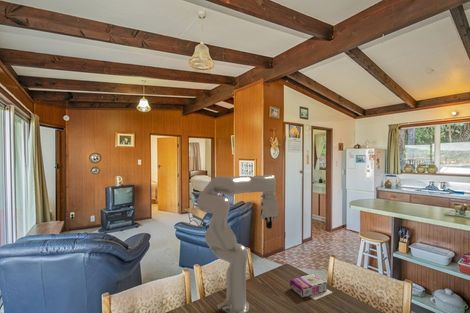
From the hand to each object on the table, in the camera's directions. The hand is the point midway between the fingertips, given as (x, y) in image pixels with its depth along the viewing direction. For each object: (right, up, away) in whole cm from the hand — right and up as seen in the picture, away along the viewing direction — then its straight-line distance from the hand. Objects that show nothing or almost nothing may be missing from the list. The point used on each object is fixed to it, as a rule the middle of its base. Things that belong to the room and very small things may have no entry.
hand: (269, 227), depth 144 cm
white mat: (+22, -32, -5) cm, 39 cm away
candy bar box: (+13, -30, -10) cm, 34 cm away
